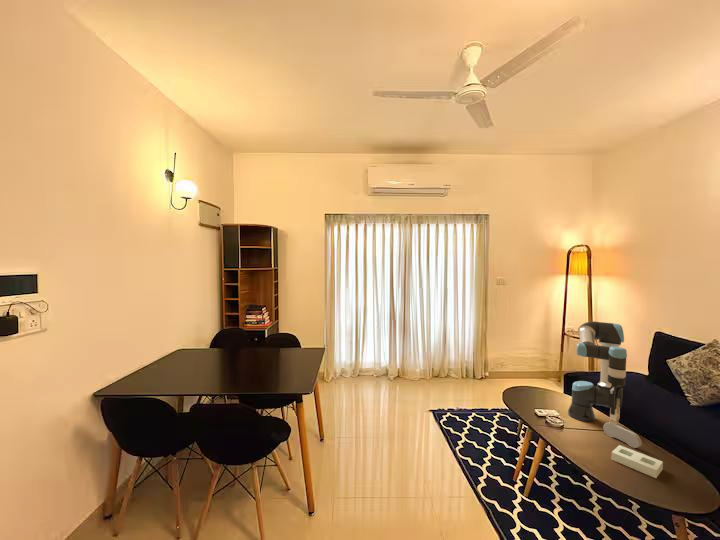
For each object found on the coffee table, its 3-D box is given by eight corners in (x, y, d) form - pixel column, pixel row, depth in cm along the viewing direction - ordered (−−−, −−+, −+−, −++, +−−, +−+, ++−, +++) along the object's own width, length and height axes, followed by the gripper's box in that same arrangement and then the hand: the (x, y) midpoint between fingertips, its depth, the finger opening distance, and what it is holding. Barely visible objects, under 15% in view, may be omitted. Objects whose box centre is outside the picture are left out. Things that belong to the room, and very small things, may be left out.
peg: (611, 421, 180) (612, 396, 180) (619, 424, 177) (620, 398, 177) (608, 423, 178) (610, 397, 178) (616, 426, 175) (618, 400, 175)
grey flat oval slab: (641, 450, 183) (642, 435, 183) (639, 451, 182) (639, 436, 182) (605, 432, 201) (605, 419, 201) (602, 433, 200) (603, 419, 200)
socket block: (618, 452, 180) (619, 444, 180) (662, 469, 166) (662, 461, 166) (611, 459, 173) (611, 452, 173) (656, 478, 159) (656, 470, 159)
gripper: (614, 371, 185) (612, 412, 185) (602, 376, 176) (600, 419, 176) (630, 375, 179) (628, 418, 179) (619, 380, 169) (617, 425, 170)
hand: (614, 419), depth 178 cm, fingers closed on peg, 3 cm apart
